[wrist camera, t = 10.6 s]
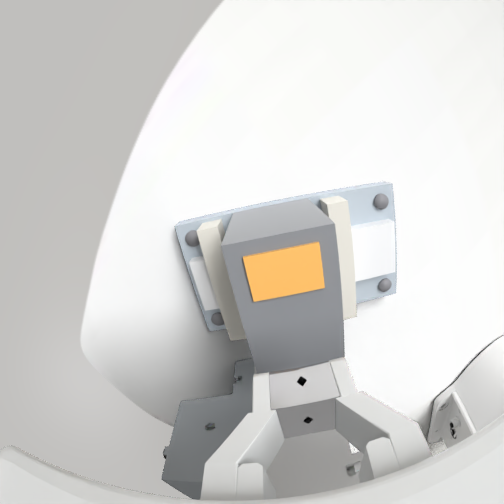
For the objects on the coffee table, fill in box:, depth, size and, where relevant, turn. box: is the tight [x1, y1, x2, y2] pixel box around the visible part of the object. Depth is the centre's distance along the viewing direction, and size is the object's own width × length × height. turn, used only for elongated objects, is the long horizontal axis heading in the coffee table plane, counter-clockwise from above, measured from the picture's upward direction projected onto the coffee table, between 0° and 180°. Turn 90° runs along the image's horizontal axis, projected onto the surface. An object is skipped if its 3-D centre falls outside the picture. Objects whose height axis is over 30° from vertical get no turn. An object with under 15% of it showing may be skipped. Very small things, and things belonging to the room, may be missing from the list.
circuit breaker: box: [162, 358, 364, 500], centre depth 16 cm, size 8×14×15 cm, turn 109°
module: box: [221, 198, 344, 374], centre depth 15 cm, size 8×4×6 cm, turn 12°
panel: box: [175, 182, 397, 341], centre depth 17 cm, size 8×14×3 cm, turn 102°
